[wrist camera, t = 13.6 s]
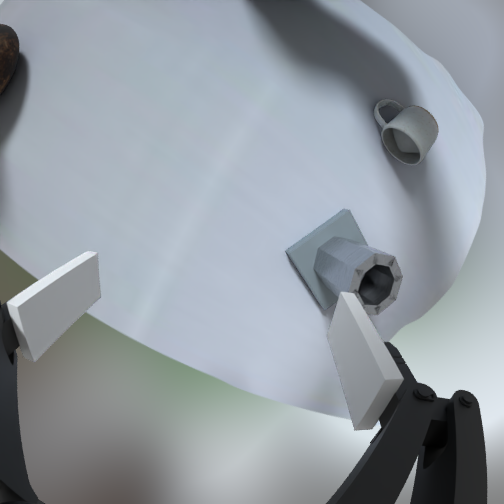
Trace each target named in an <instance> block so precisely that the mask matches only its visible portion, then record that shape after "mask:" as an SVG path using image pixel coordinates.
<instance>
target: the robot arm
mask: <svg viewBox="0 0 504 504" xmlns="http://www.w3.org/2000/svg"><path fill="white" fill-rule="evenodd" d="M100 298H101V292H100V280H99V266H98V253H95V252H90V251H86V252H85V253H83V254H81V255H80V256H78V257H76V258H74V259H73V260H71V261H69V262H68V263H66V264H64V265H63V266H61V267H60V268H58V269H56V270H55V271H53V272H51V273H50V274H48V275H47V276H45V277H44V278H42V279H40V280H39V281H37V282H36V283H34V284H33V285H31V286H29V287H27V288H26V289H24V291H22V292H20V293H19V294H17V295H16V296H14V297H13V298H11V299H10V300H9V301H7V302H6V303H4V304H3V305H1V302H0V504H45V503H43V502H42V501H40V500H39V499H38V497H37V495H36V494H35V492H34V491H33V489H32V487H31V485H30V483H29V479H28V475H27V470H26V465H25V460H24V455H23V449H22V442H21V435H20V426H19V415H18V399H17V353H16V349H17V348H18V347H19V346H20V349H21V351H22V354H23V357H25V358H27V359H28V360H30V361H32V362H35V361H36V360H37V359H38V358H39V357H40V356H41V355H42V354H43V353H44V352H45V351H46V350H47V349H48V348H49V347H50V346H51V345H52V344H53V343H54V342H55V341H56V340H57V339H58V338H59V337H60V336H61V335H62V334H63V333H64V332H65V331H66V330H67V329H68V328H69V327H70V326H71V325H72V324H73V323H74V322H75V321H76V320H77V319H78V318H79V317H80V316H81V315H82V314H83V313H85V312H86V311H87V310H88V309H89V308H90V307H91V306H92V305H93V304H94V303H95V302H96V301H97V300H98V299H100ZM327 338H328V341H329V344H330V348H331V351H332V354H333V357H334V360H335V364H336V367H337V370H338V374H339V377H340V380H341V384H342V387H343V391H344V394H345V398H346V401H347V405H348V408H349V412H350V415H351V419H352V423H353V426H354V430H368V429H373V427H374V426H375V424H376V423H377V422H378V420H379V421H380V424H381V429H380V430H379V431H378V433H377V434H376V436H375V437H374V438H373V439H372V441H371V442H370V443H371V444H370V446H369V447H368V449H367V450H366V452H365V453H364V455H363V456H362V458H361V459H360V461H359V462H358V463H357V465H356V466H355V468H354V469H353V470H352V472H351V473H350V474H349V476H348V477H347V478H346V480H345V481H344V483H343V484H342V485H341V486H340V488H339V489H338V490H337V491H336V493H335V494H334V495H333V496H332V497H331V499H330V500H329V501H328V502H327V503H326V504H394V503H395V502H396V500H397V498H398V496H399V494H400V492H401V490H402V488H403V487H404V484H405V483H406V480H407V478H408V476H409V474H410V472H411V470H412V468H413V465H414V463H415V461H416V459H417V456H418V462H417V469H416V476H415V481H414V487H413V492H412V497H411V502H410V504H487V466H486V451H485V442H484V433H483V427H482V420H481V414H480V408H479V403H478V401H477V399H476V397H475V396H474V395H473V394H471V393H470V392H468V391H465V390H458V391H456V392H455V393H454V394H453V396H452V398H451V399H445V398H438V397H437V396H436V393H435V392H434V391H433V390H432V389H431V388H430V387H429V386H427V385H425V384H422V383H417V381H416V379H415V378H414V376H413V374H412V373H411V371H410V369H409V367H408V366H407V364H405V361H404V359H403V358H402V356H401V354H400V352H399V351H398V349H397V348H396V347H394V346H393V345H392V344H391V343H390V342H383V341H382V339H381V337H380V335H379V334H378V332H377V330H376V329H375V327H374V325H373V324H372V322H371V320H370V319H369V317H368V315H367V314H366V312H365V310H364V309H363V307H362V305H361V304H360V302H359V301H358V299H357V297H356V296H355V294H354V293H348V292H340V295H339V298H338V302H337V305H336V308H335V312H334V315H333V318H332V321H331V325H330V328H329V331H328V334H327Z"/></svg>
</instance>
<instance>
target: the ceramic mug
mask: <svg viewBox="0 0 504 504" xmlns="http://www.w3.org/2000/svg"><path fill="white" fill-rule="evenodd" d="M386 105H389V106H392V107H394V108H396V109H397V110H398V111H399V112H400V113H399V114H398V115H397V116H396V117H395V118H394V119H393V120H391V121H390V122H389V123H388V124H387V123H386V122H385V121H384V120H383V118H382V117H381V116H380V114H379V111H378V110H379V109H380V108H381V107H383V106H386ZM374 117H375V119H376V121H377V122H378V123H379V125H380V126H381V127H382V128H383V130H382V132H381V137H382V141H383V143H384V145H385V147H386V149H387V150H388V151H389V152H390V154H391V155H392V156H393V157H394V158H396V159H397V160H399V161H400V162H402V163H404V164H407V165H412V166H413V165H417V164H419V163H420V162H421V161H422V160H423V158H424V157H425V155H426V154H427V152H428V151H429V150H430V148H431V146H432V145H433V143H434V142H435V140H436V138H437V135H438V125H437V122H436V120H435V119H434V117H433V116H432V115H431V114H430V113H429V112H428V111H427V110H425V109H424V108H422V107H419V106H409V107H407V108H404V107H403V106H402V105H401V104H399V103H398V102H396V101H394V100H390V99H384V100H381V101H379V102H378V103H377V104H376V106H375V109H374Z"/></svg>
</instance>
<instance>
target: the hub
mask: <svg viewBox="0 0 504 504" xmlns="http://www.w3.org/2000/svg"><path fill="white" fill-rule="evenodd" d="M313 269H314V270H315V272H316V274H317V275H318V277H319V278H320V280H321V282H322V283H323V284H324V285H325V286H326V287H327V288H328V289H329V290H331V291H332V292H333V293H334V294H335V295H336V296H338V297H339V295H340V292H348V293H354V294H355V296H356V297H357V299H358V301H359V302H360V304H361V305H362V307H363V309H364V310H365V312H366V314H367V315H378V314H380V313H381V312H382V311H383V310H384V309H386V308H387V307H388V306H389V305H390V304H392V303H393V302H394V301H395V300H396V297H397V294H398V291H399V288H400V284H401V281H402V278H403V276H402V273H401V271H400V268H399V266H398V263H397V261H396V258H395V257H394V256H392V255H389V254H387V253H384V252H382V251H379V250H377V249H374V248H372V247H369V246H367V245H364V244H362V243H359V242H356V241H354V240H351V239H346V238H341V237H336V236H334V237H332V238H331V239H330V240H328V241H327V242H325V243H324V244H323V245H321V246H320V247H319V248H318V250H317V254H316V258H315V263H314V267H313ZM364 273H365V275H364V278H363V279H362V275H363V274H364ZM361 279H362V280H361Z"/></svg>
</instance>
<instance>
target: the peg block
mask: <svg viewBox="0 0 504 504" xmlns="http://www.w3.org/2000/svg"><path fill="white" fill-rule="evenodd" d="M334 236H336V237H341V238H346V239H351V240H354V241H356V242H359V243H362V244H364V245H367V243H366V241H365V239H364V237H363V235H362V233H361V231H360V229H359V227H358V225H357V223H356V221H355V219H354V217H353V215H352V213H351V211H350V210H346V209H343V210H342V211H340V212H339V213H338V214H336V215H335V216H333V217H332V218H331V219H329V220H328V221H326V222H325V223H324V224H322V225H321V226H319V227H318V228H317V229H315V230H314V231H312V232H311V233H310V234H308V235H307V236H305V237H304V238H303V239H301V240H300V241H298V242H297V243H295V244H294V245H293V246H291V247H290V248H288V249H287V250H286V253H287V254H288V256H289V257H290V259H291V260H292V262H293V263H294V265H295V267H296V268H297V270H298V271H299V273H300V274H301V276H302V277H303V279H304V281H305V282H306V284H307V285H308V287H309V288H310V290H311V292H312V293H313V295H314V296H315V298H316V300H317V301H318V303H319V304H320V306H321V307H322V308H323V309H324V310H326V309H328V308H329V307H330V306H332V305H333V304H334V303H336V302H337V301H338V298H339V297H338V296H336V295H335V294H334V293H333V292H332V291H331V290H329V289H328V288H327V287H326V286H325V285H324V284H323V283H322V282H321V280H320V278H319V277H318V275H317V274H316V272H315V270H314V269H313V267H314V263H315V258H316V254H317V250H318V248H319V247H320V246H321V245H323V244H324V243H325V242H327V241H328V240H330V239H331V238H332V237H334ZM367 246H368V245H367ZM364 275H365V273H364V274H363V275H362V279H363V278H364ZM362 279H361V280H362Z"/></svg>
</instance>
